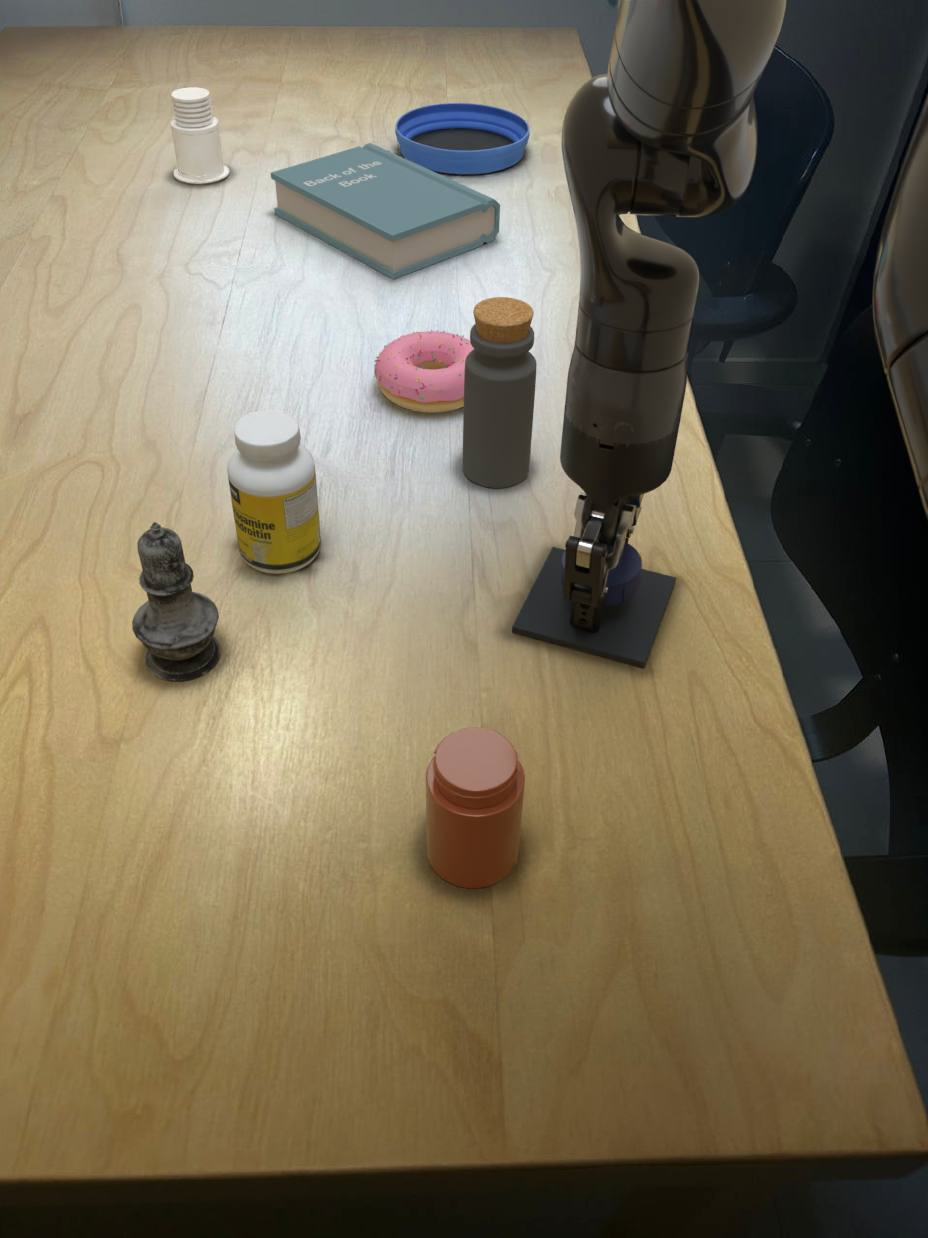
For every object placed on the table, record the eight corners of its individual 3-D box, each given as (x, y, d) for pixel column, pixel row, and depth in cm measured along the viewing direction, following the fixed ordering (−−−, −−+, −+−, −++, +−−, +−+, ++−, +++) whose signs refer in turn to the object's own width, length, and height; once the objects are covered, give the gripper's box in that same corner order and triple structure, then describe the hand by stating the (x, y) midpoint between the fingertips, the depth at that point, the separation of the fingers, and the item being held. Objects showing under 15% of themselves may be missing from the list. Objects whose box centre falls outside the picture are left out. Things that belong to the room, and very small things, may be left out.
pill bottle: (228, 539, 89) (208, 414, 81) (304, 517, 91) (292, 394, 83) (256, 587, 84) (237, 461, 76) (334, 563, 87) (324, 438, 79)
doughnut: (511, 402, 104) (513, 362, 101) (407, 432, 100) (406, 392, 97) (454, 350, 111) (454, 312, 108) (355, 376, 107) (353, 337, 104)
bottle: (498, 442, 99) (506, 285, 89) (543, 472, 96) (556, 313, 86) (448, 465, 96) (450, 307, 86) (492, 497, 93) (500, 336, 83)
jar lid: (656, 589, 81) (658, 569, 79) (589, 617, 79) (590, 596, 77) (610, 547, 85) (611, 527, 83) (545, 572, 83) (546, 552, 81)
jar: (530, 827, 68) (539, 736, 63) (501, 901, 65) (508, 810, 59) (445, 801, 70) (447, 709, 64) (412, 872, 66) (410, 781, 60)
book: (274, 213, 134) (270, 172, 131) (377, 180, 142) (376, 140, 139) (393, 279, 122) (392, 235, 119) (498, 238, 130) (500, 196, 127)
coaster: (675, 583, 86) (676, 577, 85) (644, 668, 79) (645, 662, 78) (552, 552, 88) (552, 546, 88) (511, 632, 81) (511, 626, 81)
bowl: (375, 166, 146) (374, 138, 144) (422, 121, 159) (422, 95, 156) (506, 185, 142) (507, 157, 140) (543, 138, 155) (545, 111, 152)
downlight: (228, 186, 140) (218, 103, 133) (172, 188, 139) (159, 105, 133) (230, 162, 146) (220, 82, 139) (175, 164, 145) (163, 83, 138)
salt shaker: (163, 697, 76) (130, 563, 68) (127, 648, 79) (92, 515, 71) (239, 662, 78) (217, 529, 70) (202, 616, 82) (176, 484, 74)
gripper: (597, 344, 77) (576, 533, 89) (533, 453, 67) (518, 650, 79) (703, 365, 75) (667, 555, 87) (653, 480, 66) (620, 678, 77)
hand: (596, 599), depth 83 cm, fingers closed on jar lid, 5 cm apart
